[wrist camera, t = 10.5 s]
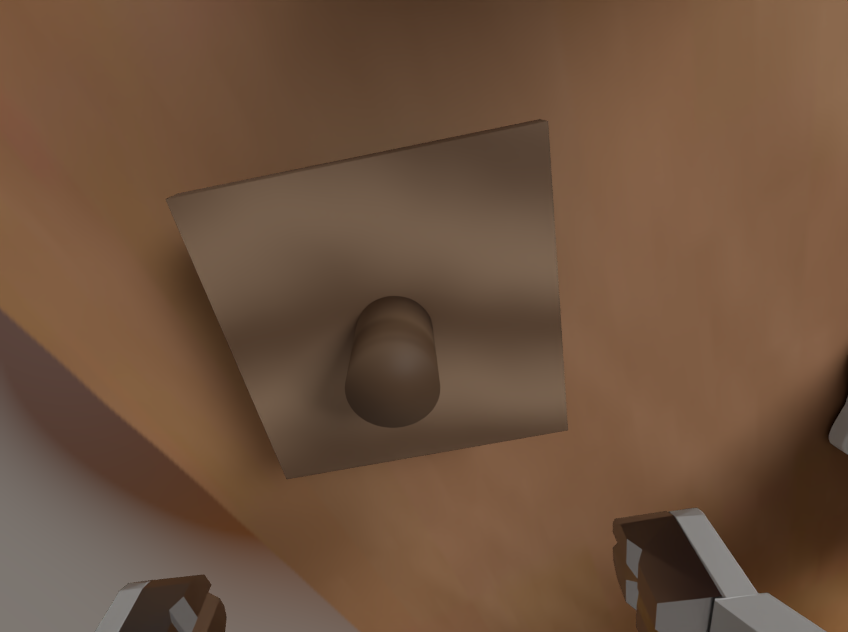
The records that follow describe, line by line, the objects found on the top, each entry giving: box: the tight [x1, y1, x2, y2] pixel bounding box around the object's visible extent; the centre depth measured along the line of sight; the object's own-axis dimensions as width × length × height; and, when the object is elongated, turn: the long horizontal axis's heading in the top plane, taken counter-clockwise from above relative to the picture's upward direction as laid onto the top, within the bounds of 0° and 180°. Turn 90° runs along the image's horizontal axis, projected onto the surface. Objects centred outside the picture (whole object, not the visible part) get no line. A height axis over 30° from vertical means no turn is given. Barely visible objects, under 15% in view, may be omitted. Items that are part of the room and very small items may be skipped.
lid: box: [166, 119, 568, 479], centre depth 17 cm, size 13×13×5 cm
